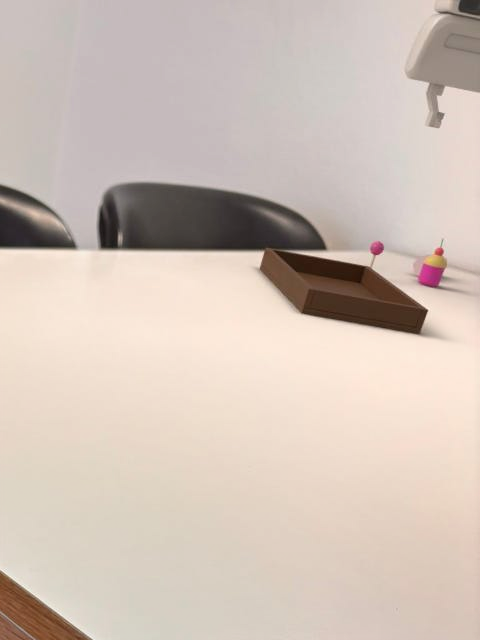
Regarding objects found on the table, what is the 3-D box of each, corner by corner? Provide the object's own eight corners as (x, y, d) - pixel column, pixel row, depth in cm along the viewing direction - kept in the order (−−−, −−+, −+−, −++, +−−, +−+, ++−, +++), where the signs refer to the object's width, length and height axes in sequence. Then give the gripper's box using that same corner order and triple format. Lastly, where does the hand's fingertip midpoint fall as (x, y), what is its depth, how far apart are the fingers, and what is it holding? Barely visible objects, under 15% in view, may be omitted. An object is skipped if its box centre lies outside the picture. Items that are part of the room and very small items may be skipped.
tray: (361, 287, 134) (369, 266, 133) (419, 334, 116) (428, 310, 115) (259, 268, 133) (265, 247, 132) (301, 312, 115) (309, 288, 114)
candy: (409, 267, 155) (424, 223, 152) (462, 282, 151) (479, 238, 148) (358, 274, 142) (374, 226, 139) (415, 291, 138) (432, 243, 135)
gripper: (587, 25, 131) (538, 147, 138) (424, -8, 130) (384, 116, 137) (609, 26, 125) (557, 153, 132) (440, -9, 124) (397, 120, 132)
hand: (468, 134), depth 135 cm, fingers open, 8 cm apart
